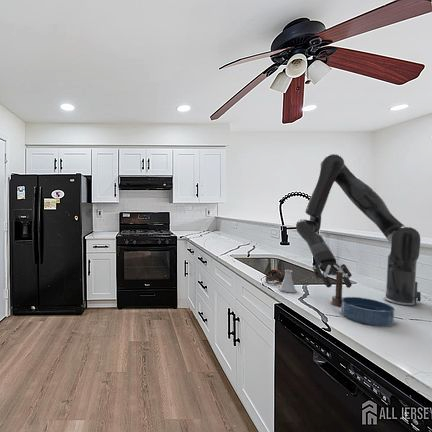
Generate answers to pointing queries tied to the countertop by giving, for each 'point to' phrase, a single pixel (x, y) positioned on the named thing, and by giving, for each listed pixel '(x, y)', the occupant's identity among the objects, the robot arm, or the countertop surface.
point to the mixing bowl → (367, 311)
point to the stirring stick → (338, 289)
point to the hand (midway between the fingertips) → (339, 286)
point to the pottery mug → (274, 275)
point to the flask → (288, 282)
